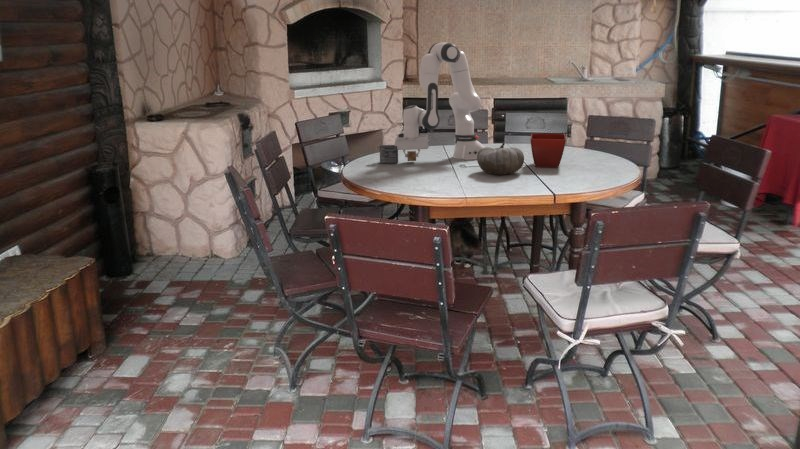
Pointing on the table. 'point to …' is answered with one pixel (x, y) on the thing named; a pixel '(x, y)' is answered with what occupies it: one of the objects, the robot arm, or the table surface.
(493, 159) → the gourd
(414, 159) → the walnut cube
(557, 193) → the table surface
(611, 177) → the table surface
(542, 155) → the plant pot
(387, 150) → the small box
